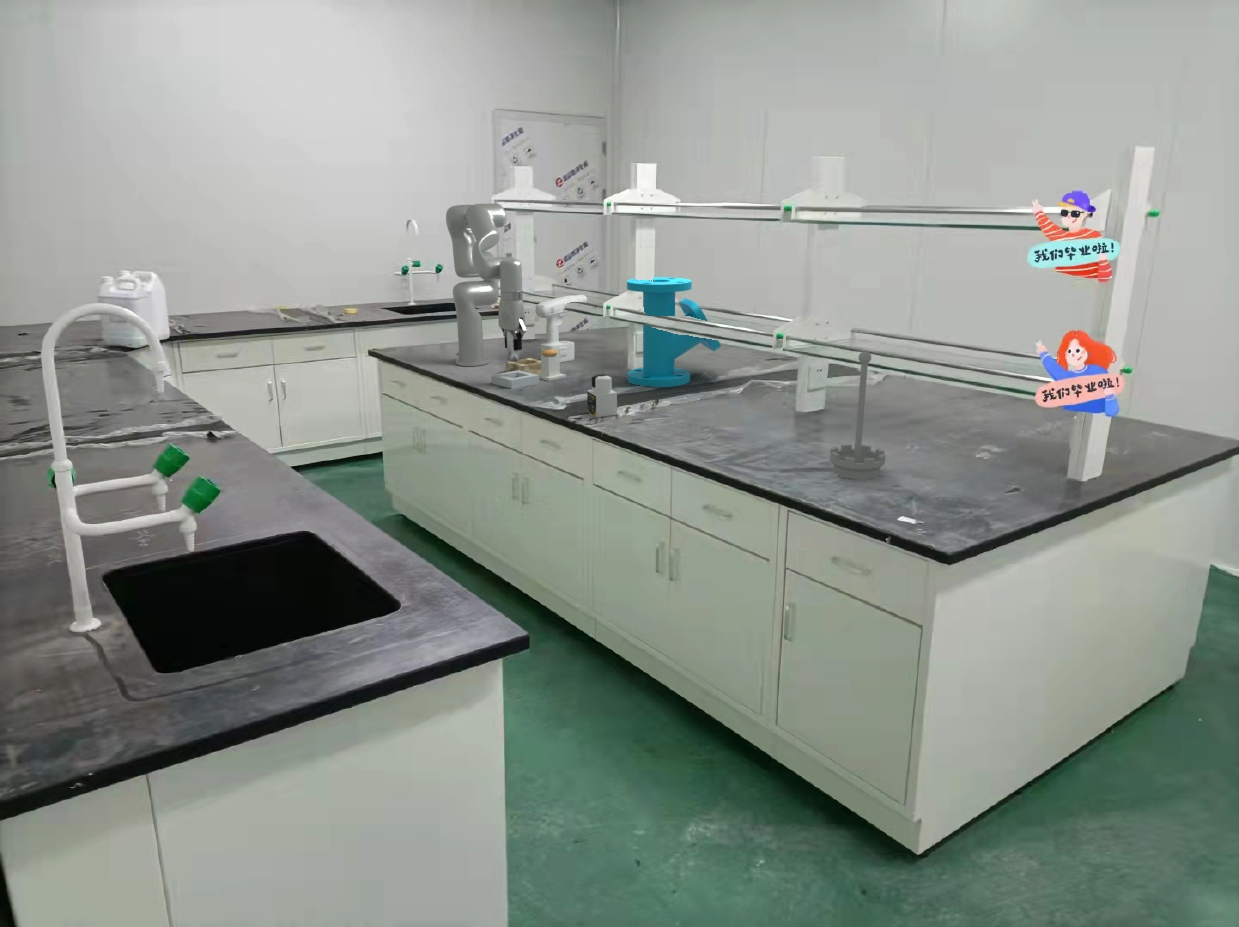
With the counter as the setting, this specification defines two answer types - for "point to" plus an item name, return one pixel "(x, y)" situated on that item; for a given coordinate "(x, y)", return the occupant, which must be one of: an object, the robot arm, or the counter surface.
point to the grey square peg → (512, 348)
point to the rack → (525, 366)
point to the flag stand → (858, 441)
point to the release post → (550, 368)
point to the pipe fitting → (665, 333)
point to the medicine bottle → (602, 397)
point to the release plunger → (549, 352)
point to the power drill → (557, 325)
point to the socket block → (515, 379)
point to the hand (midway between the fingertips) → (513, 348)
